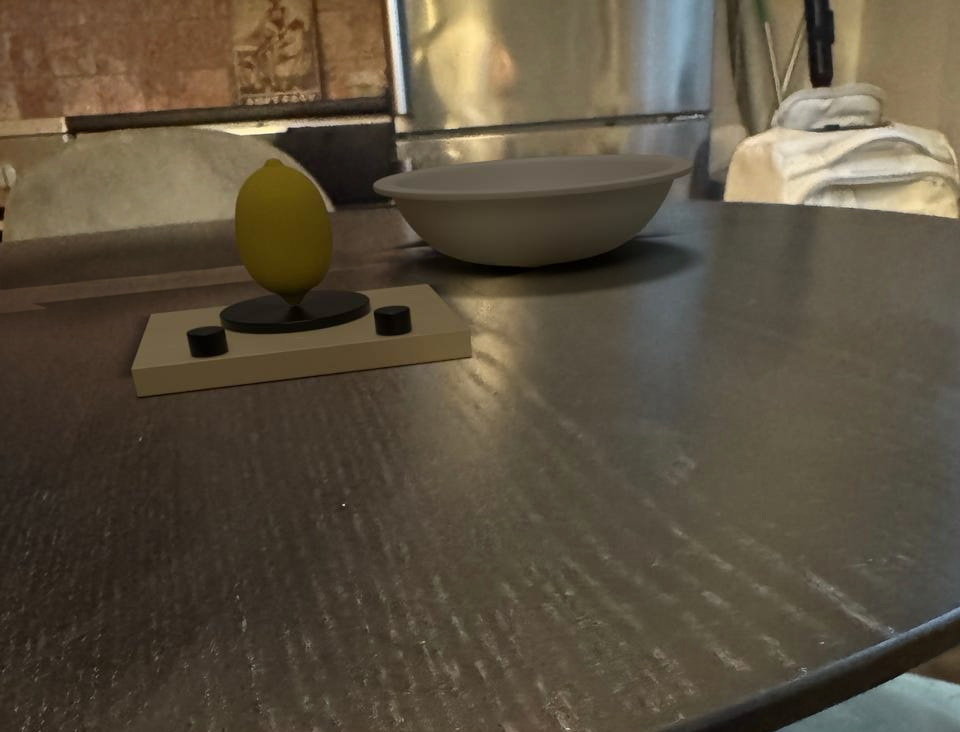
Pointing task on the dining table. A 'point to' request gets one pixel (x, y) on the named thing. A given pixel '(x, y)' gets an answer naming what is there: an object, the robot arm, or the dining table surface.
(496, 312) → the dining table surface
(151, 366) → the cooktop
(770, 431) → the dining table surface
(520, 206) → the soup bowl
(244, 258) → the lemon
